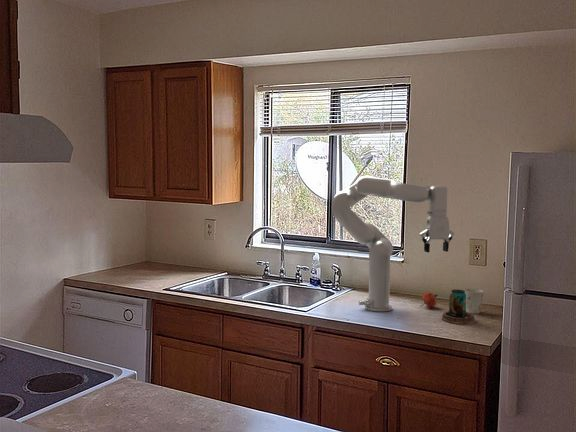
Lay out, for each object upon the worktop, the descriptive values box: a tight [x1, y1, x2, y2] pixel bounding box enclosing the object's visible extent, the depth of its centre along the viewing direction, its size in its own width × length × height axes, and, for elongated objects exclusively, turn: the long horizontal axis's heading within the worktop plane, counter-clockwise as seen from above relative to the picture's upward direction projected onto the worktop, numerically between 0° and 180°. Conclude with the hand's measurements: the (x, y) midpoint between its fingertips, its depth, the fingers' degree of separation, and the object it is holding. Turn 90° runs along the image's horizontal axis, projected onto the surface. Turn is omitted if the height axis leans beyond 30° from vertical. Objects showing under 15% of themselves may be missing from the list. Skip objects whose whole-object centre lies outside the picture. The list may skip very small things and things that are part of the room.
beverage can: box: [448, 289, 466, 318], centre depth 277 cm, size 7×7×12 cm
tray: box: [441, 310, 476, 325], centre depth 277 cm, size 14×14×2 cm
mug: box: [464, 288, 484, 315], centre depth 292 cm, size 8×13×10 cm, turn 58°
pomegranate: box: [419, 292, 439, 309], centre depth 299 cm, size 7×7×10 cm
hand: (436, 251), depth 285 cm, fingers open, 9 cm apart
